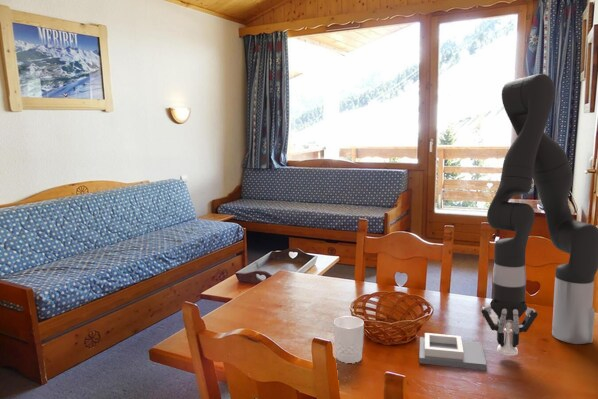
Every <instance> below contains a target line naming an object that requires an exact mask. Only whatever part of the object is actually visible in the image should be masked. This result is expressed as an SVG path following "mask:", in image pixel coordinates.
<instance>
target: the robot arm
mask: <svg viewBox="0 0 598 399" xmlns="http://www.w3.org/2000/svg"><path fill="white" fill-rule="evenodd" d="M555 90H556V88H555V85H554V82H553V80H552V78H551V77H550V76H549V75H548V74H545V73H537V74H533V75H529V76H524V77H520V78H517V79H513V80H510V81H508V82H506V83H505V84H504V86H503V87H502V90H501V101H502V105H503V108H504V110H505V113H506V115H507V118H508V119H509V121H510V123H511V126H512V127H513V130H514V132H515V133H516V135H517V137H516V139H515V140H514V142H513V143H512V144H511V146H510V147H509V149H508V150H507V152H506V154H505V156H504V159H503V162H502V163H503V164H502V168H501V176H500V182H499V185H498V187H497V190H496V191H495V195H494V197H493V199H492V200H491V203H490V205H489V207H488V209H487V214H486V220H487V223H488V225H489V226H490V227H491V228H492V229H494V230H495V229H496V230H500V231H501V230H502V231H509V232H510V231H511V232H515V234H514V236H513V237H506V238H500V239H497V240H496V241H495V243H494V249H493V250H494V251H493V252H494V254H493V256H494V257H493V258H494V260H493V261H494V262H493V269H492V298H491V301H490V302H489V305H484V306H483V305H481V306H480V311H481V314H482V316H483V317H484V320H486V323H487V325H488V327H490V329H491V331H496V340H497V343H498V345H500V346H503V347H504V342H505V332H504V331H503V330H504V329H505V328H504V327H505V320H510V321H512V322H513V323H512V326H511V329H512V331H513V332H512V333H511V334H510V338H511V344H512V347H516V348H517V346H519V344H520V342H519V341H520V334H521V333H527V332H528V331H529V328H530V327H531V326H532V324H533V323H534V321H535V320H536V318H537V317H538V312H537V311H536V309H535V308H530V307H528V305H527V303H526V288H527V287H526V286H527V285H526V284H527V271H526V253H527V252H526V248H527V246H528V245H527V244H528V240H529V237H530V233H531V231H532V229H533V226H534V223H535V219H536V212H535V209H534V208H533V207H532V206H531V205H530V204H529V203H525V202H512V201H511V202H510V200H511V199H512V198H513V197H515V196H519V195H526V194H528V193H529V192H530V191H531V189H532V183H534V185H535V188H536V190H537V192H538V196H539V199H540V202H541V205H542V209H543V212H544V215H545V219H546V220H545V221H546V224H547V229H548V233H549V237H550V241H551V242H552V244H553V246H554V247H555V249H557V250H559V251H561V252H563V253H566V254H569V258H568V259H569V260H568V263H563V264H559V265H557V266H556V267H555V272H554V273H555V275H554V288H553V289H554V291H553V292H554V293H553V309H552V311H553V312H552V325H551V329H552V330H551V334H552V336H553V337H554V338H555V339H557V340H559V341H561V342H564V343H568V344H574V345H584V344H585V345H586V344H593V340H594V339H593V338H594V327H595V311H596V310H595V308H594V307H593V303H594V302H593V298H594V288H595V287H594V286H595V285H594V284H595V283H594V282H595V276H596V274H597V272H598V227H597V226H596V225H594V224H592V223H587V222H584V221H580V220H576V219H575V218H574V216H573V213H572V212H571V209H570V205H569V195H570V192H571V189H572V185H573V182H574V175H573V170H572V167H571V164H570V161H569V158H568V155H567V153H566V152H565V150H564V149H563V148H562V147H561V146H560V145H559V144H558V143H557V142H556V141H555V140H554V139H553V138H552V137H550V136H549V135H548V134H547V133H546V132H545V130H546V128H547V123H548V122H549V120H548V119H549V118H550V114H551V111H552V108H553V104H554V101H555V96H556V95H555V94H556V93H555V92H556V91H555ZM492 311H493V313H495V315H496V317H497V322H496V323H495V322H494V320H493V319H492V317H491V316H490V315H492ZM523 314H525V317H524V318H523V320H522V322H521V323H520V320H519V319H520V318H521V317H522V315H523Z"/></svg>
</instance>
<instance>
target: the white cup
mask: <svg viewBox="0 0 598 399" xmlns="http://www.w3.org/2000/svg"><path fill="white" fill-rule="evenodd" d="M364 326H365V321H364V320H363V319H362V318H360V317H358V316H353V315H343V316H340V317H336V318H335V319H334V320H333V333H334V334H333V336H334V345H335V346H334V347H335V351H336V352H335V356H336V360H338V362H340V361H341V362H340V363H342V362H345V363H344V364H347V363H352V364H356V363H355V362H357V363H359V362H360V361H361V360H362V358H363V348H364V331H365V330H364Z"/></svg>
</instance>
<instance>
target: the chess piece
mask: <svg viewBox="0 0 598 399" xmlns="http://www.w3.org/2000/svg"><path fill="white" fill-rule="evenodd" d="M512 323H513V322H512V321H511V320H505V325H504V327H505V328H504V330H503V332H504V333H505V335H504V347H503V346H500V344H498V346H497V349H496V350H497V352H498V353H500V354H501V355H503V356H510V357H511V356H512V357H513V356H517V355H518V354H519V350H518V347H517V346H516V347H512V344H511V334H512V332H513V331H512V330H513V328H512Z"/></svg>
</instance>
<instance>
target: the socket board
mask: <svg viewBox="0 0 598 399" xmlns="http://www.w3.org/2000/svg"><path fill="white" fill-rule="evenodd" d="M418 358H419V361H418V362H419V364H425V365H433V366H443V367H445V366H446V367H452V368H454V367H455V368H462V369H471V370H481V371H482V370H483V371H487V361H486V357H485V353H484V350H483V346H482V342H478V341H477V342H476V341H466V340H462V336H461V335H456V334H455V335H452V334H442V333H431V332H424V337H423V336H420V337H419V357H418Z"/></svg>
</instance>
